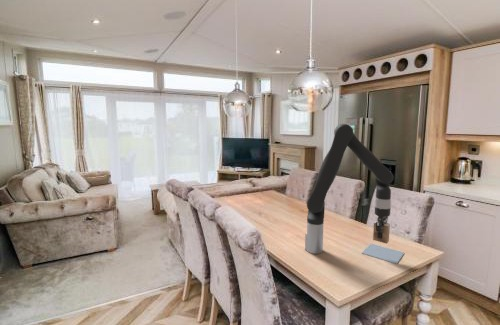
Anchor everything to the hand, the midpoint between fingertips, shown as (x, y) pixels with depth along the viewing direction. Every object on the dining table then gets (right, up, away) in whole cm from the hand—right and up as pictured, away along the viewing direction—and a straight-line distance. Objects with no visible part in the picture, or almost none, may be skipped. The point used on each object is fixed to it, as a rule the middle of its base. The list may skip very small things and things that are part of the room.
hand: (380, 236), depth 144 cm
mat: (+4, -11, +6) cm, 13 cm away
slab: (0, -2, 0) cm, 2 cm away
